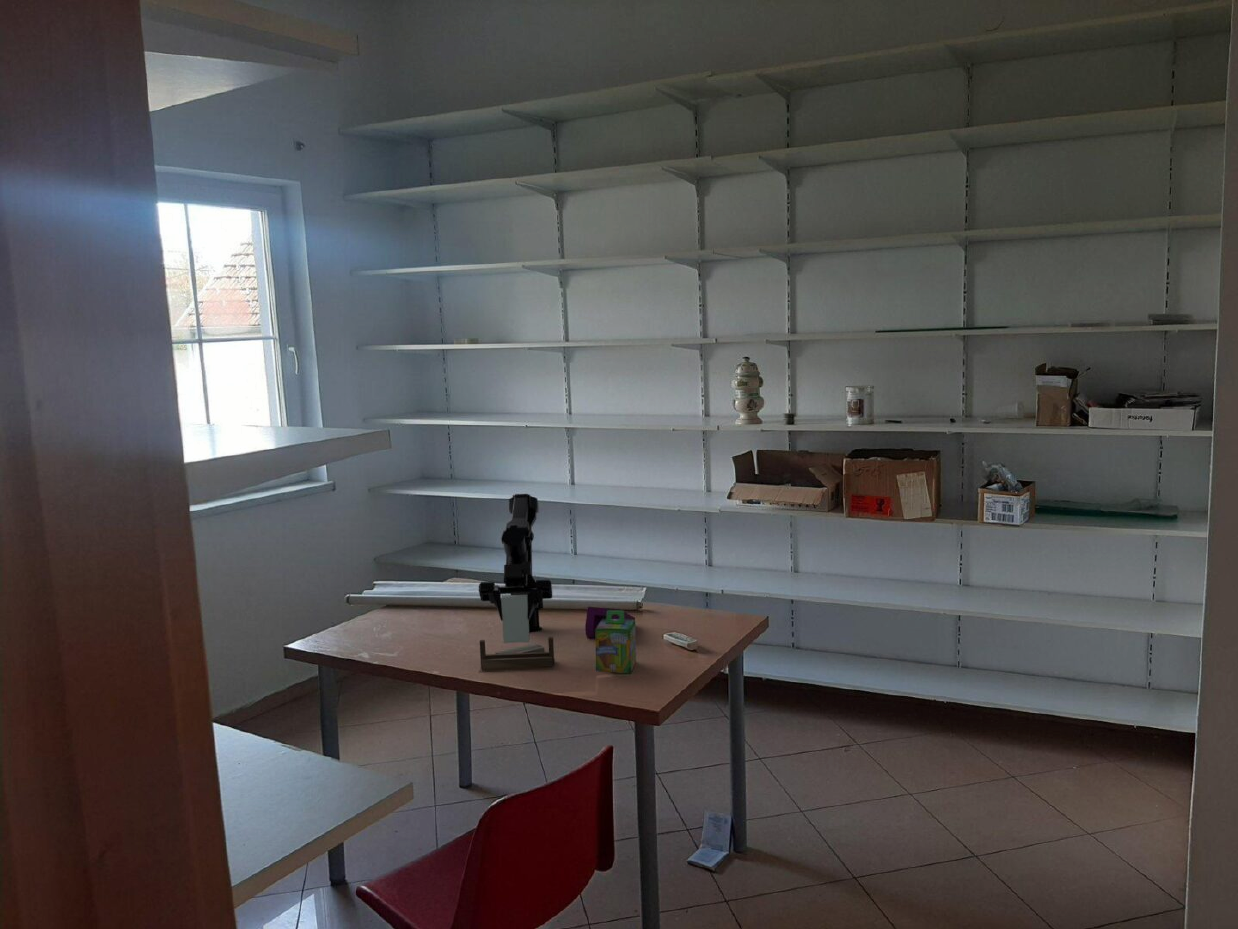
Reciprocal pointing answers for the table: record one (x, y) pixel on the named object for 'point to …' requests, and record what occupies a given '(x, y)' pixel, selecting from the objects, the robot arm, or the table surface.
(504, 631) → the sage panel
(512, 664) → the walnut rack
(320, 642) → the table surface
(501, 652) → the upper offcut
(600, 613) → the mounting bracket
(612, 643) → the chalk box
